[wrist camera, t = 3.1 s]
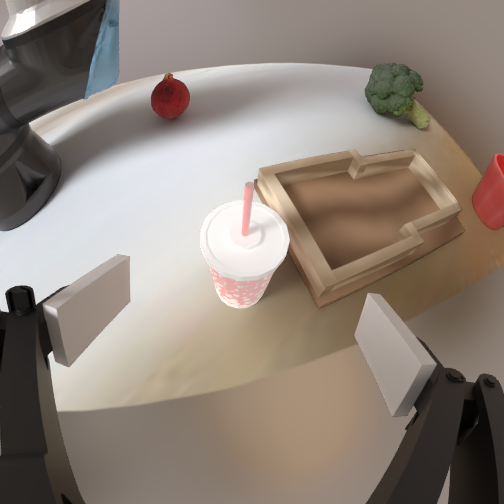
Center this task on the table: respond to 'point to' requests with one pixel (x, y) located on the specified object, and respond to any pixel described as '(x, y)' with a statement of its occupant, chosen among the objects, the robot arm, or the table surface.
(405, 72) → the vegetable
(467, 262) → the table surface
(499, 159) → the flower pot
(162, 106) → the pomegranate
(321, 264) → the light brown wooden tray
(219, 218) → the beverage cup
